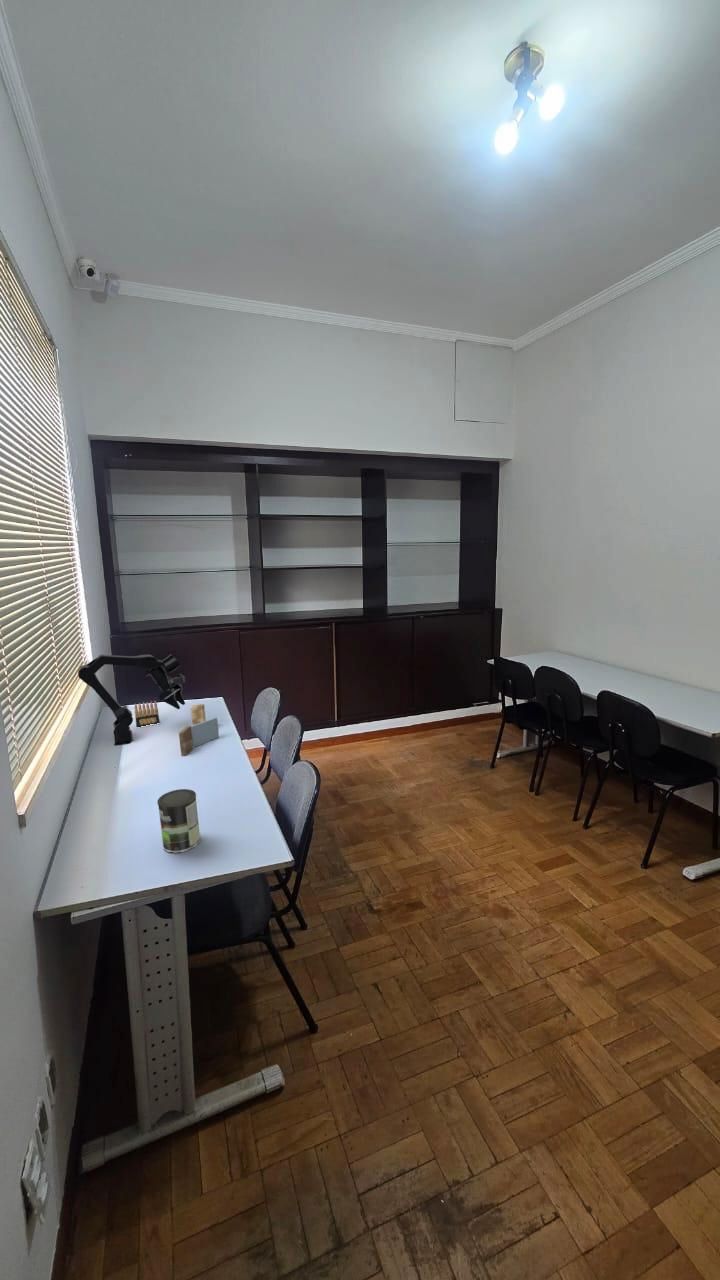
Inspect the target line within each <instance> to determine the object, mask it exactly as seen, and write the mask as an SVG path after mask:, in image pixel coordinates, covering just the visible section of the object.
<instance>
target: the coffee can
mask: <svg viewBox="0 0 720 1280" xmlns="http://www.w3.org/2000/svg"><path fill="white" fill-rule="evenodd" d="M197 804H198V803H197V793H196V792H195V791H194V790H192V789H188V788H183V789H182V788H180V789H176V790H175V789H173V790H171V791H168V792H166V793H164V794H162V795H161V796H159V798H158V799H157V805H158V813H159V821H160V822H159V823H160V830H161V838H162V848H164V849H163V851H165V850H166V851H165V852H167V851H168V852H167V853H169V852H173V853H172V854H179V853H178V852H181V853H185V852H188V851H190V850H189V849H191V848H192V849H194V848H196V847H197V846H198V845H199V844H200V842H201V832H200V826H199V825H200V823H199V817H198V807H197V806H198V805H197ZM198 843H199V844H198ZM197 844H198V845H197ZM196 845H197V846H196ZM195 846H196V847H195ZM193 847H194V848H193ZM192 849H191V850H192ZM187 850H188V851H187ZM184 851H185V852H184Z"/></svg>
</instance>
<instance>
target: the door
mask: <svg viewBox="0 0 720 1280" xmlns="http://www.w3.org/2000/svg"><path fill="white" fill-rule="evenodd" d="M190 726H191V732H192V741H193V748H194V747H197V746H200V745H203V744H205V743H208V742H211V741H213V740H216V739H218V738H220V735H219V733H220V732H219V724H218V717H213V718H210V719H206V721H204V722H201V723H198V724H195V725H193V724H192V725H190Z"/></svg>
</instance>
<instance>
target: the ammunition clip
mask: <svg viewBox="0 0 720 1280" xmlns="http://www.w3.org/2000/svg"><path fill="white" fill-rule="evenodd" d="M149 703H150V704H149ZM134 717H135V718H134V719H135V726H136V727H140V728H142V727H141V726H146V725H150V724H157V723H160V715H159V709H158V703H157V701H156V700H154V703H153V701H152V700H151V701H149V702H148V701H146V704H145V702H142V704H141V703H140V702H139V703H138V705H137V703H134ZM160 724H161V723H160ZM146 727H147V726H146Z"/></svg>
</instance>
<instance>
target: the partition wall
mask: <svg viewBox="0 0 720 1280" xmlns="http://www.w3.org/2000/svg"><path fill="white" fill-rule="evenodd" d="M191 726H192V725H186V726H184V728H182V729H181V730H180V731H179V732H178V737H179V738H178V739H179V746H180V754H181V755H180V756H181V757H186V756H187V755H189V754H190V752H192V751H193V750H194V747H193V741H192V732H191Z"/></svg>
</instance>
